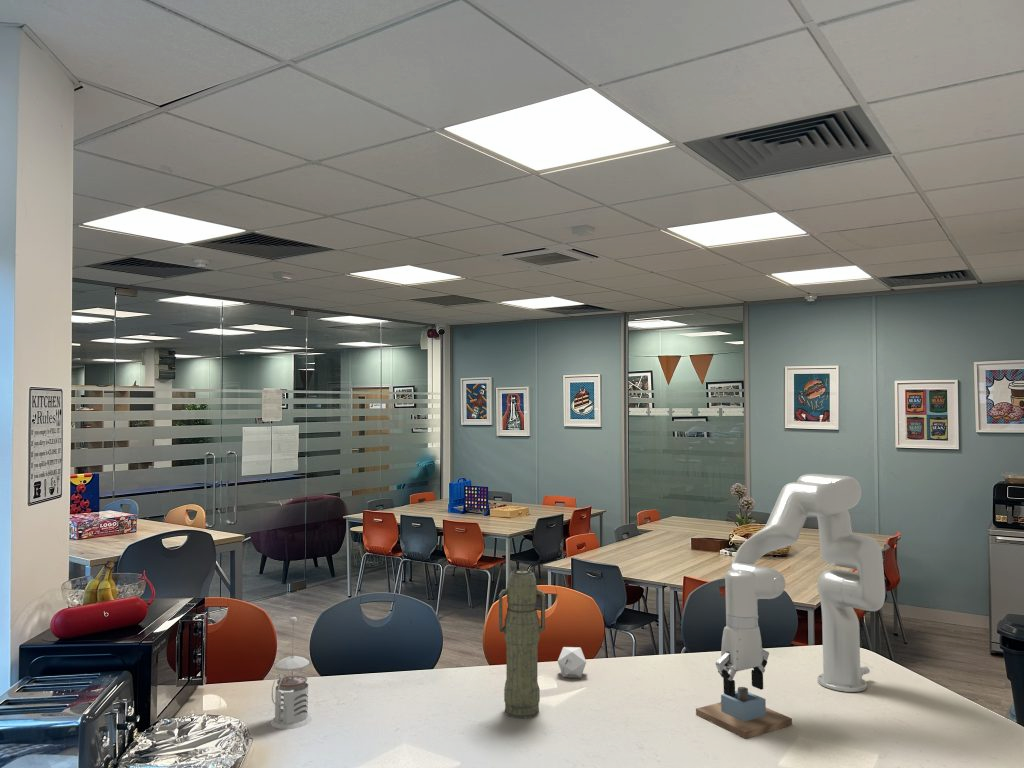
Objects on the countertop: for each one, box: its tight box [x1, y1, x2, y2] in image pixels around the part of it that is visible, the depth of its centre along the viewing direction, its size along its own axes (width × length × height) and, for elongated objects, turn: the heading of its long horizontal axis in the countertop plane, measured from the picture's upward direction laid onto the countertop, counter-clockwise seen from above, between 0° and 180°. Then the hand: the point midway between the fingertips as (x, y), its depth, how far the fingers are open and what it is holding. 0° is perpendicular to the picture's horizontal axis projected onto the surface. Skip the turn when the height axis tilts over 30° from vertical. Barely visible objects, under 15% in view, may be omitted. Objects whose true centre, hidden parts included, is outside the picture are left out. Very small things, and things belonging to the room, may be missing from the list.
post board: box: [695, 686, 793, 739], centre depth 179 cm, size 16×16×8 cm
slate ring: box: [720, 690, 767, 722], centre depth 179 cm, size 7×7×4 cm
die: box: [557, 646, 587, 679], centre depth 211 cm, size 8×9×10 cm
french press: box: [270, 616, 313, 730], centre depth 178 cm, size 10×12×25 cm
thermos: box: [498, 569, 546, 719], centre depth 185 cm, size 9×12×35 cm
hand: (743, 691), depth 179 cm, fingers open, 9 cm apart
